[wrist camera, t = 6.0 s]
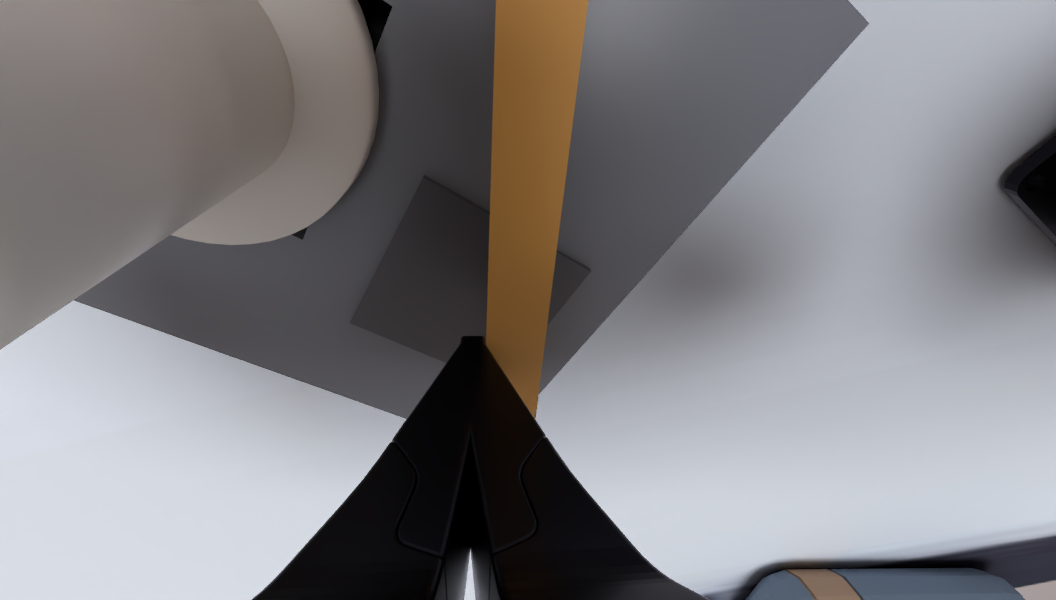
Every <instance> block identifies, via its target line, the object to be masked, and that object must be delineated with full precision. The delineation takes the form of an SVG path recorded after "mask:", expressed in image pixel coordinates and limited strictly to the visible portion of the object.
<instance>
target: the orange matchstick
mask: <svg viewBox="0 0 1056 600" xmlns="http://www.w3.org/2000/svg"><path fill="white" fill-rule="evenodd" d="M587 7H588V0H496V16H495V51H494V85H493V120H492V155H491V190H490V224H489V259H488V294H487V328H486V346H487V347H488V349H489V350H490V352H491V353H492V355H493V356H494V358H495V359H496V361H497V362H498V364H499V365H500V367H501V368H502V370H503V371H504V373H505V374H506V376H507V378H508V379H509V381H510V382H511V384H512V385H513V387H514V388H515V390H516V391H517V393H518V394H519V396H520V397H521V399H522V400H523V402H524V403H525V405H526V406H527V408H528V409H529V411H530V412H531V414H532V415H533V417H534V419H535V417H536V409H537V401H538V394H539V386H540V378H541V370H542V362H543V354H544V346H545V338H546V330H547V323H548V315H549V307H550V299H551V291H552V283H553V275H554V267H555V259H556V252H557V244H558V236H559V228H560V220H561V212H562V204H563V196H564V188H565V181H566V173H567V165H568V157H569V149H570V141H571V133H572V125H573V117H574V110H575V102H576V94H577V86H578V78H579V70H580V62H581V54H582V47H583V39H584V31H585V23H586V15H587Z"/></svg>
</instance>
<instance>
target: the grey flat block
mask: <svg viewBox="0 0 1056 600" xmlns="http://www.w3.org/2000/svg"><path fill="white" fill-rule="evenodd" d="M384 1H385V2H387V3H388V4H389V5H391V6H392V9H391V12H390V14H389V17H388V20H387V22H386V25H385V27H384V30H383V33H382V35H381V38H380V40H379V43H378V46H377V48H376V51H375V53H374V54H375V59H376V64H377V70H378V83H379V112H378V122H377V127H376V132H375V138H374V141H373V144H372V147H371V150H370V153H369V156H368V159H367V161H366V162H365V164H364V166H363V168H362V170H361V172H360V174H359V176H358V177H357V178H356V180H355V181H354V182H353V184H352V185H351V186H350V188H349V189H348V190H347V191H346V192H345V194H344V195H343V196H342V197H341V198H340V199H339V200H338V202H337V203H336V204H335V205H334V206H333V207H332V208H331V209H330V210H329V211H328V212H327V213H326V214H324V215H323V216H322V217H321V218H320V219H318V220H317V221H315V222H314V223H312V224H311V225H309V226H308V227H306V228H304V229H302V230H300V231H298V232H296V233H294V234H292V235H289V236H286V237H283V238H279V239H276V240H273V241H268V242H262V243H256V244H244V245H224V244H210V243H204V242H198V241H192V240H187V239H183V238H179V237H176V236H172V235H169V236H168V237H166V238H165V239H164V240H162V241H161V242H159V243H158V244H156V245H155V246H153V247H152V248H150V249H149V250H147V251H146V252H144V253H143V254H141V255H140V256H138V257H137V258H135V259H134V260H132V261H131V262H129V263H128V264H126V265H125V266H123V267H122V268H120V269H119V270H117V271H116V272H115V273H113V274H112V275H110V276H109V277H107V278H106V279H104V280H103V281H101V282H100V283H98V284H97V285H95V286H94V287H92V288H91V289H89V290H88V291H86V292H85V293H83V294H82V295H80V296H79V297H77V298H76V299H74V300H75V301H77V302H80V303H83V304H86V305H89V306H91V307H94V308H97V309H100V310H103V311H105V312H108V313H111V314H114V315H117V316H119V317H122V318H125V319H128V320H131V321H134V322H136V323H139V324H142V325H145V326H148V327H150V328H153V329H156V330H159V331H162V332H164V333H167V334H170V335H173V336H176V337H178V338H181V339H184V340H187V341H190V342H193V343H195V344H198V345H201V346H204V347H207V348H209V349H212V350H215V351H218V352H221V353H223V354H226V355H229V356H232V357H235V358H237V359H240V360H243V361H246V362H249V363H252V364H254V365H257V366H260V367H263V368H266V369H268V370H271V371H274V372H277V373H280V374H282V375H285V376H288V377H291V378H294V379H296V380H299V381H302V382H305V383H308V384H311V385H313V386H316V387H319V388H322V389H325V390H327V391H330V392H333V393H336V394H339V395H341V396H344V397H347V398H350V399H353V400H355V401H358V402H361V403H364V404H367V405H370V406H372V407H375V408H378V409H381V410H384V411H386V412H389V413H392V414H395V415H398V416H400V417H403V418H406V419H407V418H408V417H409V415H410V414H411V413H412V411H413V410H414V408H415V407H416V406H417V404H418V403H419V401H420V400H421V398H422V397H423V396H424V394H425V393H426V391H427V390H428V389H429V387H430V386H431V384H432V383H433V381H434V380H435V379H436V377H437V376H438V374H439V373H440V372H441V370H442V369H443V367H444V366H445V364H446V363H447V362H448V360H449V359H450V357H451V356H452V354H453V353H454V352H455V350H456V349H457V347H458V346H459V345H460V340H461V337H462V336H483V337H484V338H485V344H486V328H487V294H488V259H489V224H490V190H491V155H492V120H493V85H494V51H495V16H496V0H384ZM868 24H869V23H868V22H867V21H866V19H865V18H864V17H863V16H862V15H861V14H860V13H859V12H858V11H857V10H856V9H855V7H854V6H853V5H852V4H851V3H850V2H849V1H848V0H588V7H587V15H586V23H585V31H584V39H583V47H582V54H581V62H580V70H579V78H578V86H577V94H576V102H575V110H574V117H573V125H572V133H571V141H570V149H569V157H568V165H567V173H566V181H565V188H564V196H563V204H562V212H561V220H560V228H559V236H558V244H557V252H556V259H555V267H554V275H553V283H552V291H551V299H550V307H549V315H548V323H547V330H546V338H545V346H544V354H543V362H542V370H541V378H540V386H539V393H540V392H541V391H542V390H543V389H544V388H545V387H546V386H547V384H548V383H549V382H550V381H551V380H552V379H553V378H554V377H555V375H556V374H557V373H558V372H559V371H560V370H561V369H562V368H563V366H564V365H565V364H566V363H567V362H568V361H569V360H570V359H571V357H572V356H573V355H574V354H575V353H576V352H577V351H578V350H579V348H580V347H581V346H582V345H583V344H584V343H585V342H586V341H587V340H588V338H589V337H590V336H591V335H592V334H593V333H594V332H595V331H596V329H597V328H598V327H599V326H600V325H601V324H602V323H603V322H604V320H605V319H606V318H607V317H608V316H609V315H610V314H611V313H612V311H613V310H614V309H615V308H616V307H617V306H618V305H619V304H620V302H621V301H622V300H623V299H624V298H625V297H626V296H627V295H628V293H629V292H630V291H631V290H632V289H633V288H634V287H635V286H636V284H637V283H638V282H639V281H640V280H641V279H642V278H643V277H644V276H645V274H646V273H647V272H648V271H649V270H650V269H651V268H652V267H653V265H654V264H655V263H656V262H657V261H658V260H659V259H660V258H661V256H662V255H663V254H664V253H665V252H666V251H667V250H668V249H669V247H670V246H671V245H672V244H673V243H674V242H675V241H676V240H677V238H678V237H679V236H680V235H681V234H682V233H683V232H684V231H685V229H686V228H687V227H688V226H689V225H690V224H691V223H692V222H693V220H694V219H695V218H696V217H697V216H698V215H699V214H700V213H701V212H702V210H703V209H704V208H705V207H706V206H707V205H708V204H709V203H710V201H711V200H712V199H713V198H714V197H715V196H716V195H717V194H718V192H719V191H720V190H721V189H722V188H723V187H724V186H725V185H726V183H727V182H728V181H729V180H730V179H731V178H732V177H733V176H734V174H735V173H736V172H737V171H738V170H739V169H740V168H741V167H742V165H743V164H744V163H745V162H746V161H747V160H748V159H749V158H750V156H751V155H752V154H753V153H754V152H755V151H756V150H757V149H758V148H759V146H760V145H761V144H762V143H763V142H764V141H765V140H766V139H767V137H768V136H769V135H770V134H771V133H772V132H773V131H774V130H775V128H776V127H777V126H778V125H779V124H780V123H781V122H782V121H783V119H784V118H785V117H786V116H787V115H788V114H789V113H790V112H791V110H792V109H793V108H794V107H795V106H796V105H797V104H798V103H799V101H800V100H801V99H802V98H803V97H804V96H805V95H806V94H807V92H808V91H809V90H810V89H811V88H812V87H813V86H814V85H815V84H816V82H817V81H818V80H819V79H820V78H821V77H822V76H823V75H824V73H825V72H826V71H827V70H828V69H829V68H830V67H831V66H832V64H833V63H834V62H835V61H836V60H837V59H838V58H839V57H840V55H841V54H842V53H843V52H844V51H845V50H846V49H847V48H848V46H849V45H850V44H851V43H852V42H853V41H854V40H855V39H856V37H857V36H858V35H859V34H860V33H861V32H862V31H863V30H864V28H865V27H866V26H867V25H868ZM538 395H539V394H538Z"/></svg>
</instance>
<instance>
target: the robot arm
mask: <svg viewBox="0 0 1056 600" xmlns="http://www.w3.org/2000/svg"><path fill="white" fill-rule="evenodd" d="M1004 189H1005V192H1006V193H1007V194H1008V195H1009V196H1010V197H1011V198H1012V199H1013V200H1014V201H1015V202H1016V204H1017V205H1018V206H1019V207H1020V208H1021V209H1022V210H1023V211H1024V212H1025V213H1026V214H1027V215H1028V216H1029V217H1030V218H1031V219H1032V220H1033V222H1034V223H1035V224H1036V225H1037V226H1038V227H1039V228H1040V229H1041V230H1042V231H1043V232H1044V233H1045V234H1046V235H1047V236H1048V237H1049V239H1050V240H1051V241H1052V242H1053V243H1054V244H1055V245H1056V136H1055V137H1054V138H1053V139H1051V140H1050V141H1049V142H1048V143H1046V144H1045V145H1044V146H1043V147H1042V148H1040V149H1039V150H1038V151H1037V152H1035V153H1034V154H1033V155H1032V156H1030V157H1029V158H1028V159H1027V160H1026V161H1024V162H1023V163H1022V164H1021V165H1019V166H1018V167H1017V168H1016V169H1015V170H1014V171H1013V172H1012V173H1011V174H1010V175H1009V176H1008V177H1007V179H1006V181H1005V184H1004ZM470 548H471V558H472V568H473V578H474V588H475V598H476V600H709V599H707V598H705V597H703V596H701V595H699V594H698V593H696V592H694V591H692V590H690V589H688V588H686V587H684V586H682V585H681V584H679V583H677V582H675V581H673V580H672V579H670V578H669V577H667V576H666V575H664V574H663V573H661V572H660V571H659V570H658V569H657V568H655V567H654V566H653V565H652V564H651V563H650V562H649V561H648V560H647V559H645V558H644V557H643V556H642V555H641V553H640V552H639V551H638V550H637V549H636V548H635V547H634V546H633V544H632V543H631V542H630V541H629V540H628V539H627V538H626V536H625V535H624V534H623V533H622V532H621V531H620V529H619V528H618V527H617V526H616V525H615V524H614V522H613V521H612V520H611V519H610V518H609V517H608V515H607V514H606V513H605V512H604V511H603V510H602V509H601V507H600V506H599V505H598V504H597V503H596V502H595V500H594V499H593V498H592V497H591V496H590V495H589V493H588V492H587V491H586V490H585V489H584V487H583V486H582V485H581V484H580V482H579V481H578V480H577V479H576V478H575V476H574V475H573V474H572V473H571V471H570V470H569V469H568V467H567V466H566V464H565V463H564V461H563V460H562V459H561V457H560V456H559V454H558V453H557V452H556V450H555V449H554V447H553V446H552V444H551V443H550V441H549V439H548V438H547V437H545V434H544V432H543V431H542V429H541V428H540V426H539V425H538V423H537V422H536V420H535V419H534V417H533V415H532V414H531V412H530V411H529V409H528V408H527V406H526V405H525V403H524V402H523V400H522V399H521V397H520V396H519V394H518V393H517V391H516V390H515V388H514V387H513V385H512V384H511V382H510V381H509V379H508V378H507V376H506V374H505V373H504V371H503V370H502V368H501V367H500V365H499V364H498V362H497V361H496V359H495V358H494V356H493V355H492V353H491V352H490V350H489V349H488V347H487V346H486V344H485V338H484V337H483V336H462V337H461V340H460V345H459V346H458V347H457V349H456V350H455V352H454V353H453V354H452V356H451V357H450V359H449V360H448V362H447V363H446V364H445V366H444V367H443V369H442V370H441V372H440V373H439V374H438V376H437V377H436V379H435V380H434V381H433V383H432V384H431V386H430V387H429V389H428V390H427V391H426V393H425V394H424V396H423V397H422V398H421V400H420V401H419V403H418V404H417V406H416V407H415V408H414V410H413V411H412V413H411V414H410V415H409V417H408V418H407V420H406V421H405V423H404V424H403V425H402V427H401V428H400V430H399V431H398V432H397V434H396V435H395V437H394V438H393V440H392V442H391V443H389V445H388V446H387V448H386V449H385V451H384V452H383V453H382V455H381V456H380V458H379V459H378V460H377V462H376V463H375V464H374V466H373V467H372V468H371V470H370V471H369V472H368V474H367V475H366V476H365V478H364V479H363V480H362V481H361V483H360V484H359V485H358V486H357V487H356V488H355V490H354V491H353V492H352V493H351V494H350V495H349V497H348V498H347V499H346V500H345V501H344V502H343V504H342V505H341V506H340V507H339V508H338V509H337V510H336V511H335V513H334V514H333V515H332V516H331V517H330V518H329V519H328V520H327V522H326V523H325V524H324V525H323V526H322V527H321V528H320V529H319V530H318V532H317V533H316V534H315V535H314V536H313V537H312V538H311V539H310V541H309V542H308V543H307V544H306V545H305V546H304V547H303V548H302V549H301V551H300V552H299V553H298V554H297V555H296V556H295V557H294V558H293V560H292V561H291V562H290V563H289V564H288V565H287V566H286V567H285V568H284V570H283V571H282V572H281V573H280V574H279V575H278V576H277V577H276V578H275V579H274V580H273V581H272V582H271V583H270V584H269V585H268V586H267V587H266V588H265V589H264V590H263V591H261V592H260V593H259V594H258V595H257V596H255V597H254V598H253V599H252V600H464V595H465V587H466V579H467V571H468V563H469V555H470Z"/></svg>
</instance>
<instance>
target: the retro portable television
mask: <svg viewBox="0 0 1056 600" xmlns="http://www.w3.org/2000/svg"><path fill="white" fill-rule="evenodd" d="M745 600H1025V599H1024V598H1023V597H1022V595H1021V594H1020V593H1019V592H1018V591H1016V590H1015V589H1014V588H1013V587H1012V586H1011V585H1010V584H1009V583H1008V582H1006V581H1005V580H1004V579H1002V578H1000V577H997V576H995V575H992V574H990V573H987V572H985V571H981V570H978V569H974V568H892V569H829V570H828V569H793V570H783V571H780V572H777V573H774V574H771V575H769V576H767V577H765V578H762V579H761V581H760V582H759V583H758V584H757V586H756V587H755V588H754V589H753V591H752V592H751V593H750V594H749V596H748V597H747V598H746V599H745Z"/></svg>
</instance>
